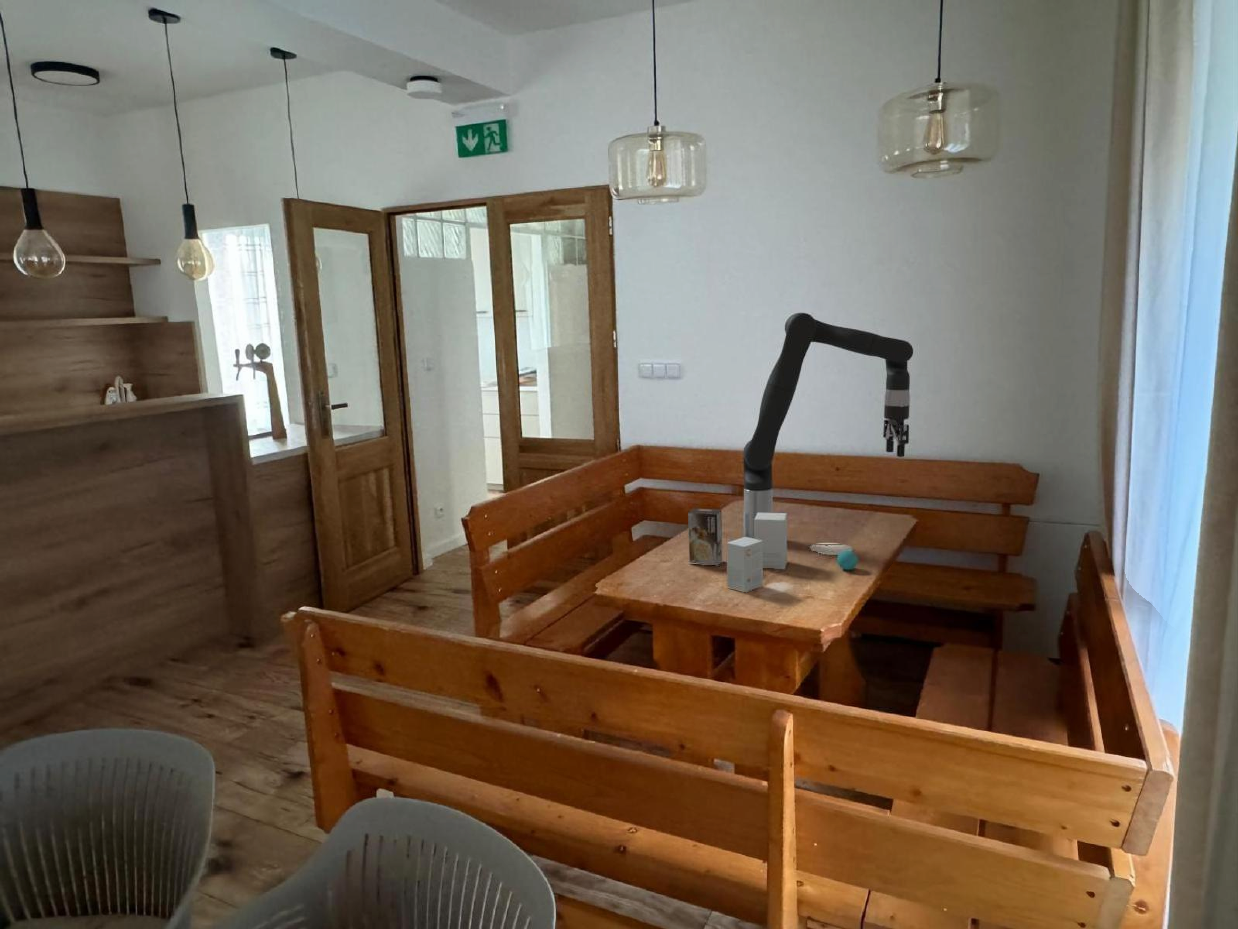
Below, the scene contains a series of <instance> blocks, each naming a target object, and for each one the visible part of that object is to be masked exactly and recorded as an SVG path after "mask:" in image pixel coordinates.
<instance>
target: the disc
mask: <svg viewBox="0 0 1238 929" xmlns="http://www.w3.org/2000/svg"><path fill="white" fill-rule="evenodd" d="M817 544H839V543H837V542H819V543H817ZM842 544H843V545H828V546H825V545H821V546H820V545H816V546H815V545H814V544H812V545H810V546H809V549H810V548H811V550H812V552H813V551H825V552H818V553H817V554H819V553H821V554H820V555H825V554H826V556H827V555H828V556H838V555H839V554H840V553H841V552H843V551H846V550H848V551H852V552H853V547H851V546H849V545H848V544H847V545H846V544H844V543H842ZM812 548H815V549H812ZM811 550H810V551H811ZM831 551H833V552H831Z"/></svg>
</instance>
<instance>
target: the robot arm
mask: <svg viewBox="0 0 1238 929" xmlns="http://www.w3.org/2000/svg"><path fill="white" fill-rule="evenodd" d="M784 332H785V337H784V342H783V346H782V349H781V352H780V355H779V357H778V359H777V360H776V363H775V365H774V367H773V368H772V370H771V372H770V375H769V377H768V379H767V382H766V386H765V388H764V391H763V395H762V398H761V402H760V407H759V414H758V418H757V419H758V420H757V425H756V427H755V431H754V433H753V435H752V437H751V439H750V440H749V441H748V442H747V443H746V444H745V445H744V448H743V454H742V455H743V460H742V461H743V462H742V463H743V510H742V515H743V516H742V524H743V525H742V530H743V531H742V533H743V534H742V538H743V537H748V538H753V539H754V519H755V517H756V515H757V513H773V495H774V494H773V487H774V486H773V485H774V484H773V483H774V482H773V472H772V471H773V461H774V460H773V459H774V455H775V450H776V445H777V441H778V438H779V434H780V431H781V428H782V426H783V424H784V421H785V419H786V417H787V414H788V412H789V409H790V406H791V404H792V401H793V398H794V395H795V393H796V390H797V385H798V383H799V379H800V376H801V372H802V366H803V363H804V360H805V358H806V355H807V353H808V350H809V348H810V346H811V343H817V344H819V343H820V344H825V345H828V346H832V347H836V348H839V349H842V350H844V351H849V352H852V353H854V354H855V353H857V354H861V355H863V356H864V355H865V356H869V357H876V358H881V359H883V360H885V370H886V378H885V380H886V381H885V394H884V408H883V410H884V411H883V418H884V420H883V433H882V435H883V436H882V438H885V439H884V440H885V441H886V442H885V451H886V452H887V453H893V452H894V447H895V446H894V445H895V440H896V444H897V445H896V457H898V458H904V457H905V448H906V447H905V446H906V445H908V444H910V442H909V441H910V437H909V436H910V425H909V424H905V420H909V418H910V407H911V406H910V402H911V401H910V400H911V394H910V384H911V381H910V380H911V378H910V377H911V376H910V372H909V370H908V361H910V360H911V358H912V357H913V356H914V348H913V346H912V344H911V343H910V342H909V341H907V340H904V339H898V338H894V337H888V336H883V335H879V334H877V333H873V332H870V331H865V330H861V329H855V328H850V327H844V326H837V325H834V324H829V323H826V322H822V321H820V320H818V319H815V318H814V317H813V316H812V315H811V314H809V313H807V312H797V313H794V314H792V315H790V316H789V317H788V318H787V319H786V321H785V323H784Z"/></svg>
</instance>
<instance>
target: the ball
mask: <svg viewBox="0 0 1238 929" xmlns="http://www.w3.org/2000/svg"><path fill="white" fill-rule="evenodd" d="M836 560H837V564H838V566H839V568H841V569H843V570H846V571H850V570H853V569H854V568H856V566H857V565H858V557H857V554H856V553H855V552H853V550H852V551H848V550H846V551H843V552H841V553H840V554H839V555H837V558H836Z"/></svg>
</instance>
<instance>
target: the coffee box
mask: <svg viewBox="0 0 1238 929" xmlns="http://www.w3.org/2000/svg"><path fill="white" fill-rule="evenodd" d="M687 517H688V518H687V520H688V550H689V551H688V553H689V557H688V559H689V563H690V562H691V563H698V564H706V565H719V564H720V563H721V561H722V560H723V538H722V537H723V536H722V535H723V534H722V533H723V532H722V530H723V529H722V528H723V527H722V526H723V525H722V509H715V508H714V509H711V508H695V507H694V508H691V510H689V512H688V514H687ZM722 562H723V561H722ZM721 564H722V563H721ZM721 564H720V565H721ZM720 565H719V566H720Z"/></svg>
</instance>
